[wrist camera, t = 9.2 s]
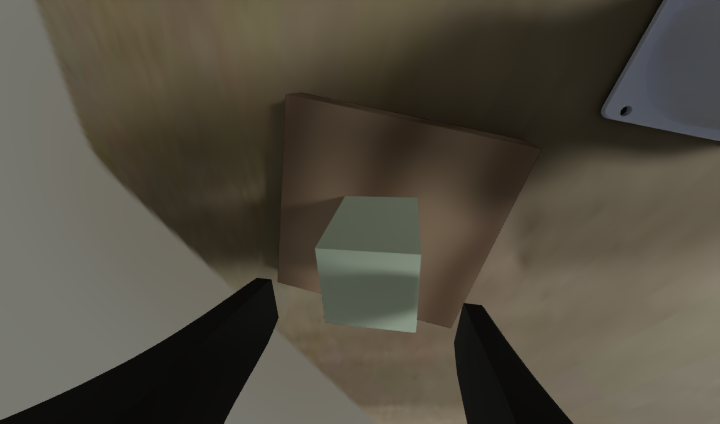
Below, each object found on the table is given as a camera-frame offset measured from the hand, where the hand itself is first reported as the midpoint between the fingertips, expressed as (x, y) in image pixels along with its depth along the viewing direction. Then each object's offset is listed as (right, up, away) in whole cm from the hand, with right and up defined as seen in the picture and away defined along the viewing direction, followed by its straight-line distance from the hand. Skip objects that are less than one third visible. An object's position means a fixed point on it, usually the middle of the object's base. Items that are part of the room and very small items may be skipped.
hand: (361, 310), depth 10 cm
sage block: (+1, +3, +7) cm, 8 cm away
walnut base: (+2, +4, +10) cm, 10 cm away
